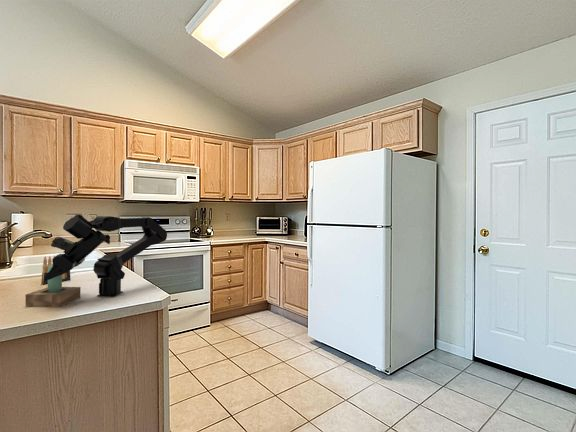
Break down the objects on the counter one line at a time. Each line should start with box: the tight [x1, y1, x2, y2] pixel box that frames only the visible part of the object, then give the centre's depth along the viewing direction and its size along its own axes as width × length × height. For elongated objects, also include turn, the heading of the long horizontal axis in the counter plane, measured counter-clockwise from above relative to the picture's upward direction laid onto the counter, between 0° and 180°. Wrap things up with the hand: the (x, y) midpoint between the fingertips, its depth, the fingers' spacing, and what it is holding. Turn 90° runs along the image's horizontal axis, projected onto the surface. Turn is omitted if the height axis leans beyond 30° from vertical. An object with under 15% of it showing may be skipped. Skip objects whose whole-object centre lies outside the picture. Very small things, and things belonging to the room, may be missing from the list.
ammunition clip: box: [40, 255, 71, 286], centre depth 139 cm, size 11×2×12 cm, turn 152°
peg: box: [47, 265, 63, 293], centre depth 109 cm, size 4×4×12 cm
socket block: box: [25, 286, 81, 308], centre depth 109 cm, size 11×11×4 cm
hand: (49, 277), depth 109 cm, fingers open, 9 cm apart
